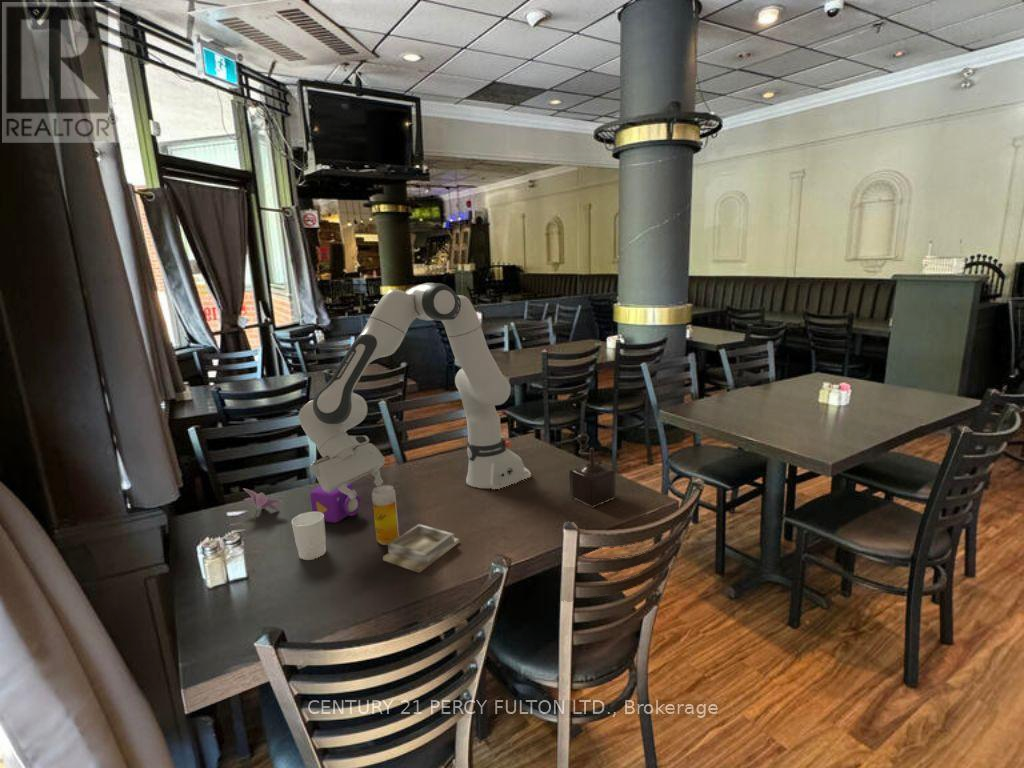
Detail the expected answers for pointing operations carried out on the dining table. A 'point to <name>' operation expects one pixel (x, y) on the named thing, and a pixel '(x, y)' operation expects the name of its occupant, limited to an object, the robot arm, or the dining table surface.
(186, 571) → the dining table surface
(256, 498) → the lily
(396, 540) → the socket board
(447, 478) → the dining table surface
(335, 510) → the toy camera
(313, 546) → the white cup
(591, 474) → the pepper mill
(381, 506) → the glass of beer
